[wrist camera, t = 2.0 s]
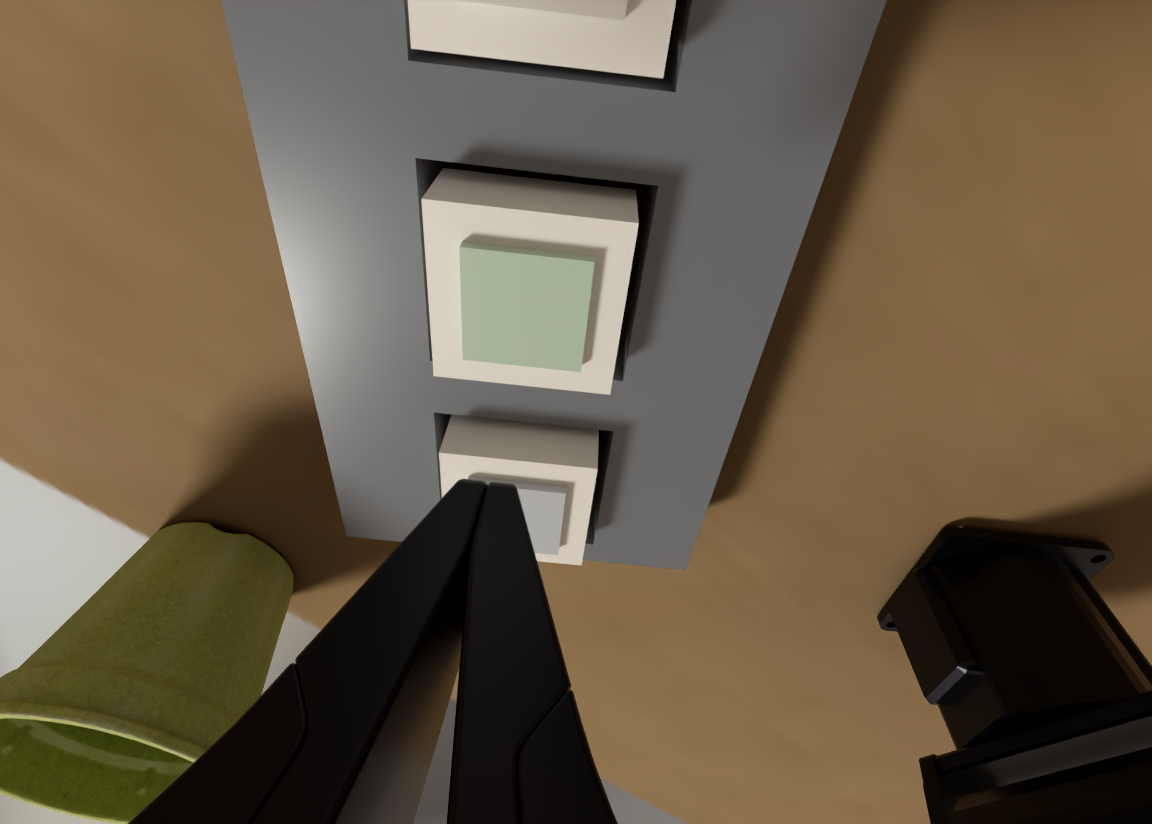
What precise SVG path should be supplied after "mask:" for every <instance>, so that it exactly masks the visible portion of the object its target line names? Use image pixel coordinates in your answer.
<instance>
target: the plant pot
mask: <svg viewBox="0 0 1152 824" xmlns="http://www.w3.org/2000/svg"><path fill="white" fill-rule="evenodd" d="M292 591H293V573H292V571H291V568H290V567H289V565H288V564H287V563H286V561H285V560H284V559H283V557H281V556H280V555H279V554H278V553H277V552H276V551H275V550H273V549H272V548H271V547H269V546H268V545H267V544H265V543H264V542H262V541H260V540H258V539H257V538H255V537H253V536H250V535H248V534H230V533H226V532H222V531H219V530H217V529H216V528H214V527H212V526H211V525H210V524H208V523H200V522H186V523H179V524H174V525H171V526H168V527H165V528H163V529H161V530H160V531H158V532H157V533H155V534H154V535H153V536H152V537H151V538H150V539H149V540H148V541H147V542H146V543H145V544H144V545H143V546H142V547H141V548H140V549H139V550H138V551H137V552H136V553H135V554H134V555H133V556H132V557H131V558H130V559H129V560H128V561H127V562H126V563H125V564H124V565H123V566H122V567H121V568H120V569H119V570H118V571H117V572H116V573H115V574H114V575H113V576H112V577H111V578H110V579H109V580H108V581H107V582H106V583H105V584H104V585H103V586H102V587H101V588H100V589H99V590H98V591H97V592H96V593H95V594H94V595H93V596H92V597H91V598H90V599H89V600H88V601H87V602H86V603H85V604H84V605H83V606H82V607H81V608H80V609H79V610H78V611H77V612H76V613H75V614H74V615H72V617H71V618H69V619H68V620H67V621H66V622H65V623H64V624H63V625H62V626H61V627H60V628H59V629H58V630H57V631H56V632H55V633H54V634H53V635H52V636H51V637H50V638H49V639H48V640H47V641H46V642H45V643H44V644H43V645H42V646H41V647H40V648H39V649H38V650H37V651H36V652H35V653H34V654H32V655H31V656H30V658H28V659H27V660H26V661H25V662H24V663H23V664H22V665H21V666H20V667H19V668H18V669H16V670H13V671H11V672H9V673H7V674H5V675H4V676H2V677H1V678H0V794H2V795H5V796H9V797H11V798H13V799H17V800H20V801H23V802H25V803H28V804H32V805H35V806H38V807H42V808H46V809H50V810H53V811H57V812H61V813H65V814H68V815H72V816H77V817H81V818H86V819H91V820H98V821H105V822H109V823H117V824H128V823H129V822H130V821H131V820H132V819H133V818H134V817H135V816H136V815H137V814H138V813H140V812H141V811H142V810H143V809H144V808H145V807H146V806H147V805H148V804H149V803H150V802H152V801H153V800H154V799H155V798H156V797H157V796H158V795H159V794H160V793H161V792H162V791H164V790H165V789H166V788H167V787H168V786H169V785H170V784H171V783H172V782H173V781H174V780H175V779H177V778H178V777H179V776H180V775H181V774H182V773H183V772H184V771H185V770H186V769H187V768H188V767H190V766H191V765H192V764H193V763H194V762H195V761H196V760H197V759H198V758H199V757H200V756H201V755H202V754H203V753H204V752H205V751H206V750H207V749H208V748H210V747H211V746H212V745H213V744H214V743H215V742H216V741H217V740H218V739H219V738H220V737H221V736H222V735H223V734H224V733H225V732H226V731H227V730H228V729H229V728H231V726H232V725H233V724H234V723H235V722H236V721H237V720H238V719H239V718H240V717H241V716H242V715H243V714H244V713H245V712H246V711H247V710H248V709H249V708H250V707H251V706H252V705H253V704H254V702H255V701H256V700H257V699H258V698H259V697H260V696H261V694H262V691H263V687H264V684H265V680H266V677H267V674H268V670H269V667H270V663H271V660H272V657H273V653H274V650H275V647H276V644H277V640H278V637H279V634H280V631H281V627H282V624H283V621H284V618H285V615H286V612H287V609H288V606H289V602H290V599H291V596H292Z"/></svg>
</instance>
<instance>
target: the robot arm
mask: <svg viewBox="0 0 1152 824" xmlns="http://www.w3.org/2000/svg"><path fill="white" fill-rule="evenodd" d="M1113 558H1114V553H1113V552H1112V551H1111V550H1110V548H1109V547H1108V546H1107V545H1106V544H1105V543H1102V542H1094V541H1084V540H1075V539H1065V538H1055V537H1045V536H1035V535H1025V534H1016V533H1006V532H996V531H986V530H976V529H966V528H949V529H946V530H944V531H942V532H941V533H940V534H939V535H938V536H937V537H936V538H935V540H934V541H933V542H932V544H931V545H930V546H929V548H928V549H927V550H926V552H925V553H924V554H923V556H922V557H921V558H920V560H919V561H918V562H917V564H916V565H915V566H914V568H913V569H912V570H911V572H910V573H909V574H908V576H907V577H906V578H905V580H904V581H903V582H902V584H901V585H900V586H899V588H898V589H897V590H896V592H895V593H894V594H893V596H892V597H891V598H890V599H889V601H888V602H887V603H886V605H885V606H884V607H883V609H882V610H881V611H880V613H879V614H878V616H877V619H878V622H879V625H880V627H881V628H882V629H883V630H887V631H896V632H898V634H899V636H900V639H901V641H902V643H903V646H904V648H905V651H906V653H907V656H908V658H909V661H910V663H911V665H912V668H913V670H914V673H915V675H916V678H917V680H918V683H919V685H920V687H921V690H922V692H923V695H924V697H925V698H926V699H927V701H928V702H929V703H930V704H933V705H938V707H939V709H940V711H941V714H942V716H943V718H944V721H945V723H946V725H947V728H948V730H949V733H950V735H951V737H952V740H953V742H954V744H955V747H956V749H957V750H955V751H952V752H949V753H945V754H942V755H939V756H937V755H935V754H932V755H929V756H925V757H922V758H920V759H919V763H920V768H921V773H922V778H923V788H924V793H925V798H926V803H927V808H928V813H929V818H930V823H931V824H1152V666H1151V664H1150V663H1149V662H1148V660H1147V659H1146V658H1145V656H1144V655H1143V654H1142V652H1141V651H1140V650H1139V648H1138V647H1137V645H1136V644H1135V643H1134V641H1133V640H1132V639H1131V637H1130V636H1129V635H1128V633H1127V632H1126V631H1125V629H1124V628H1123V626H1122V625H1121V624H1120V622H1119V621H1118V620H1117V618H1116V617H1115V616H1114V614H1113V613H1112V612H1111V610H1110V609H1109V607H1108V606H1107V605H1106V603H1105V602H1104V601H1103V599H1102V598H1101V597H1100V595H1099V594H1098V593H1097V591H1096V590H1095V588H1094V587H1093V586H1092V584H1091V583H1090V582H1089V581H1090V580H1091V579H1092V578H1093V577H1094V576H1095V575H1096V574H1097V573H1098V572H1099V571H1100V570H1102V569H1103V568H1104V567H1105V566H1106V565H1107V564H1108V563H1109V562H1110V561H1111V560H1112V559H1113ZM459 665H460V667H459ZM458 669H459V680H458V692H457V704H456V716H455V729H454V741H453V753H452V765H451V777H450V790H449V802H448V815H447V824H618V823H617V821H616V819H615V816H614V814H613V811H612V809H611V806H610V803H609V801H608V798H607V795H606V793H605V790H604V787H603V785H602V783H601V779H600V777H599V774H598V771H597V769H596V766H595V763H594V760H593V757H592V754H591V751H590V747H589V744H588V741H587V738H586V735H585V731H584V728H583V725H582V722H581V718H580V715H579V711H578V708H577V704H576V700H575V697H574V693H573V691H572V690H570V689H571V683H570V680H569V676H568V672H567V669H566V665H565V661H564V658H563V654H562V650H561V647H560V643H559V640H558V636H557V632H556V629H555V625H554V621H553V618H552V614H551V610H550V607H549V603H548V599H547V596H546V592H545V589H544V585H543V581H542V578H541V574H540V570H539V567H538V563H537V559H536V556H535V552H534V549H533V545H532V541H531V538H530V534H529V530H528V527H527V523H526V519H525V516H524V512H523V509H522V505H521V501H520V498H519V494H518V490H517V487H516V486H515V485H514V484H512V483H502V482H490V483H489V484H488V485H487V483H486V482H485V481H483V480H473V479H460V480H458V481H457V482H456V483H455V484H454V485H453V486H452V487H451V489H450V490H449V491H448V492H447V493H446V494H445V495H444V496H443V497H442V498H441V499H440V501H439V502H438V503H437V504H436V505H435V506H434V507H433V508H432V509H431V510H430V512H429V513H428V514H427V515H426V516H425V517H424V518H423V519H422V520H421V521H420V523H419V524H418V525H417V526H416V527H415V528H414V529H413V530H412V531H411V532H410V533H409V535H408V536H407V537H406V538H405V539H404V540H403V541H402V542H401V543H400V544H399V546H398V547H397V548H396V549H395V550H394V551H393V552H392V553H391V554H390V555H389V557H388V558H387V559H386V560H385V561H384V562H383V563H382V564H381V565H380V566H379V567H378V569H377V570H376V571H375V572H374V573H373V574H372V575H371V576H370V577H369V578H368V580H367V581H366V582H365V583H364V584H363V585H362V586H361V587H360V588H359V589H358V591H357V592H356V593H355V594H354V595H353V596H352V597H351V598H350V599H349V600H348V601H347V603H346V604H345V605H344V606H343V607H342V608H341V609H340V610H339V611H338V612H337V614H336V615H335V616H334V617H333V618H332V619H331V620H330V621H329V622H328V623H327V624H326V626H325V627H324V628H323V629H322V630H321V631H320V632H319V633H318V635H316V637H315V638H314V639H313V640H312V641H311V642H310V643H309V644H308V645H307V647H306V648H305V649H304V650H303V651H302V652H301V653H300V654H299V655H298V656H297V658H296V664H294V663H292V664H290V665H289V666H288V667H287V668H286V669H285V670H284V671H283V672H282V673H281V675H280V676H279V677H278V678H277V679H276V680H275V681H274V682H273V684H271V686H270V687H269V688H268V689H267V690H266V691H265V692H264V693H263V694H262V695H261V696H260V697H259V698H258V699H257V700H256V701H255V702H254V704H253V705H252V706H251V707H250V708H249V709H248V710H247V711H246V712H245V713H244V714H243V715H242V716H241V717H240V718H239V719H238V720H237V721H236V722H235V723H234V724H233V725H232V726H231V728H229V729H228V730H227V731H226V732H225V733H224V734H223V735H222V736H221V737H220V738H219V739H218V740H217V741H216V742H215V743H214V744H213V745H212V746H211V747H210V748H208V749H207V750H206V751H205V752H204V753H203V754H202V755H201V756H200V757H199V758H198V759H197V760H196V761H195V762H194V763H193V764H192V765H191V766H190V767H188V768H187V769H186V770H185V771H184V772H183V773H182V774H181V775H180V776H179V777H178V778H177V779H175V780H174V781H173V782H172V783H171V784H170V785H169V786H168V787H167V788H166V789H165V790H164V791H162V792H161V793H160V794H159V795H158V796H157V797H156V798H155V799H154V800H153V801H152V802H150V803H149V804H148V805H147V806H146V807H145V808H144V809H143V810H142V811H141V812H140V813H138V814H137V815H136V816H135V817H134V818H133V819H132V820H131V821H130V822H129V823H128V824H413V823H414V820H415V816H416V813H417V809H418V806H419V802H420V799H421V796H422V792H423V789H424V785H425V782H426V778H427V775H428V772H429V768H430V765H431V761H432V758H433V754H434V751H435V748H436V744H437V740H438V737H439V734H440V730H441V727H442V724H443V720H444V717H445V713H446V710H447V706H448V703H449V700H450V696H451V693H452V689H453V686H454V682H455V679H456V676H457V672H458Z"/></svg>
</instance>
